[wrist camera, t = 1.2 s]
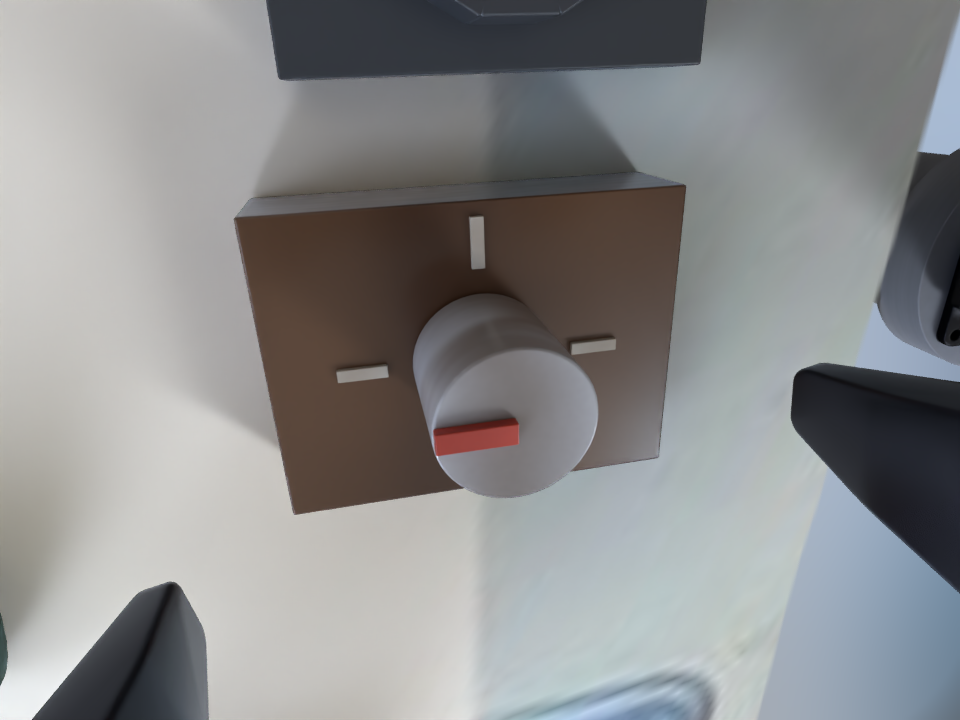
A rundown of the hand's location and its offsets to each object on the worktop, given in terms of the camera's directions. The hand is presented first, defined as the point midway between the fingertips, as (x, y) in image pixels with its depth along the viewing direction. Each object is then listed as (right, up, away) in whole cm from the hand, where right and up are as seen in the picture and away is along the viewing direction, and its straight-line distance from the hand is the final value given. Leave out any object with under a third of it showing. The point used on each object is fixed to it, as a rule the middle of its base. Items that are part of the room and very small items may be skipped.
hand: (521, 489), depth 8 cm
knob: (-1, +2, +9) cm, 9 cm away
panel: (-1, +3, +12) cm, 12 cm away
